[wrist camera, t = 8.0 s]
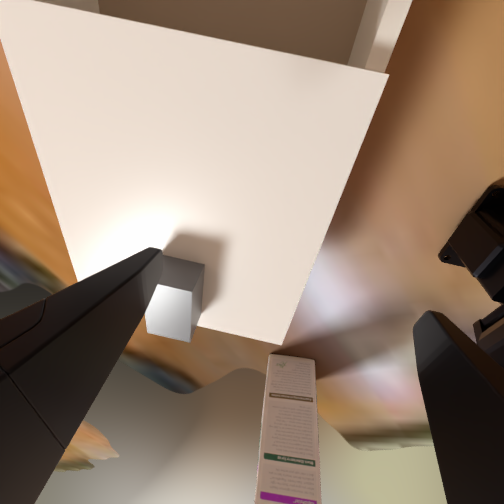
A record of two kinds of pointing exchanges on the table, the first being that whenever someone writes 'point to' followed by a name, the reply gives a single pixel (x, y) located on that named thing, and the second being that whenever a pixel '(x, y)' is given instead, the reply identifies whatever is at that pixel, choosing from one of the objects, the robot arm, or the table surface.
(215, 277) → the carton lid
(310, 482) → the syrup box
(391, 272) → the table surface
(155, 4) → the carton
